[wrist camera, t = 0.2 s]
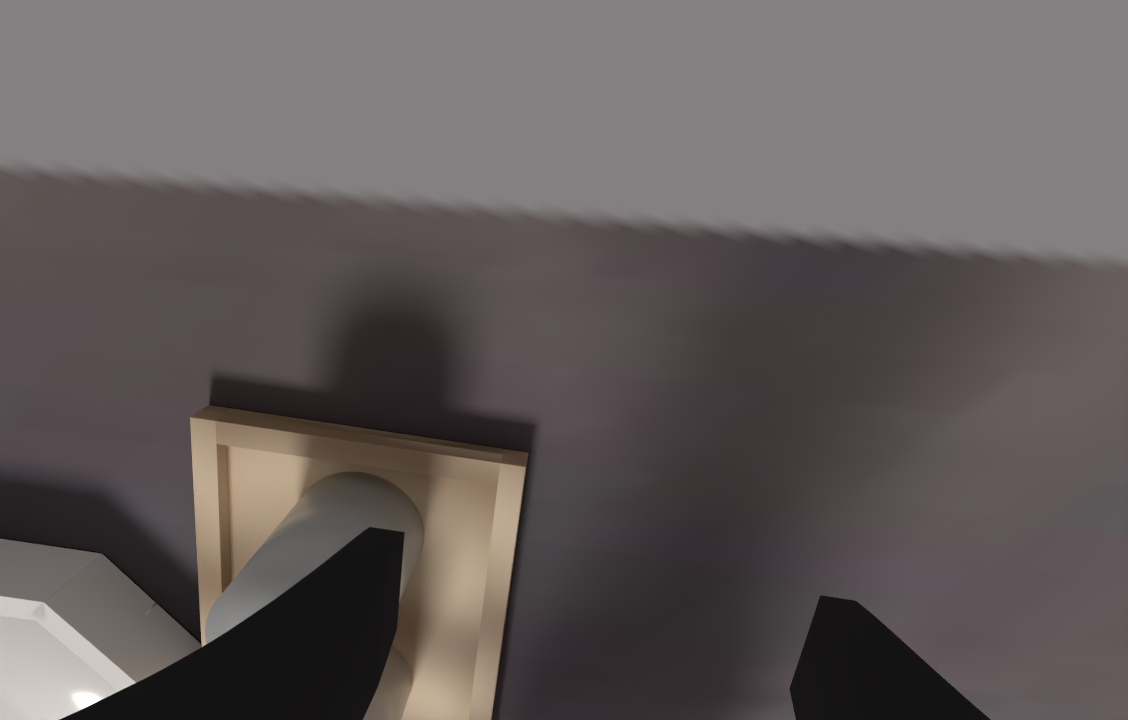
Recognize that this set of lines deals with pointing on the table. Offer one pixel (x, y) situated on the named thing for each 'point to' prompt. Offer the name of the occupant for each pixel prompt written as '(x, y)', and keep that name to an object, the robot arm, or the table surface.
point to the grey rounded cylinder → (391, 689)
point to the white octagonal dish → (75, 631)
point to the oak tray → (449, 514)
